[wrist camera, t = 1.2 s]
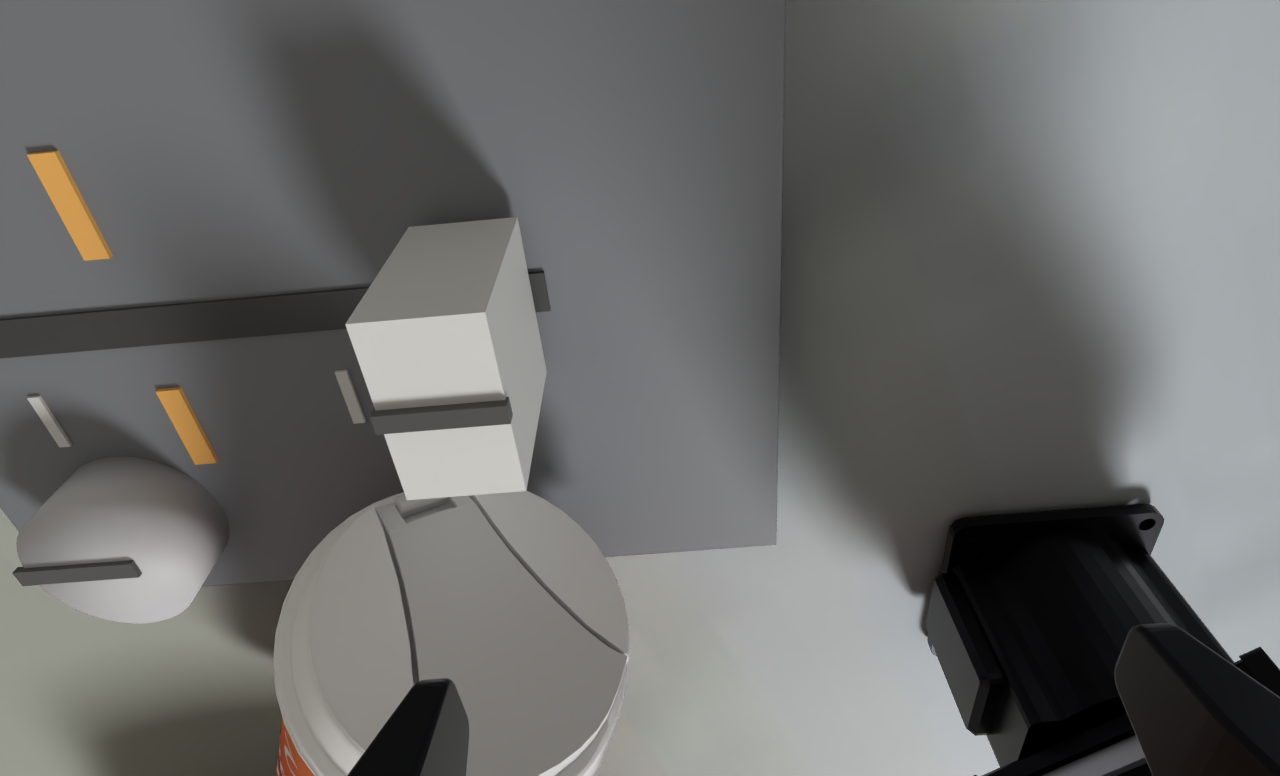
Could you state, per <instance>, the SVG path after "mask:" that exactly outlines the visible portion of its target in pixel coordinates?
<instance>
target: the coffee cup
mask: <svg viewBox="0 0 1280 776" xmlns="http://www.w3.org/2000/svg"><path fill="white" fill-rule="evenodd" d="M629 650H630V642H629V624H628V619H627V614H626V609H625V604H624V599H623V597H622V594H621V591H620V588H619V585H618V582H617V579H616V577H615V575H614V573H613V571H612V569H611V567H610V566H609V564H608V562H607V560H606V558H605V557H604V555H603V554H602V552H601V551H600V549H599V548H598V547H597V545H596V544H595V542H594V541H593V540H592V539H591V538H590V536H589V535H588V534H587V533H586V532H585V531H584V530H583V529H582V528H581V526H580V525H578V524H577V523H576V522H575V521H574V520H573V519H571V518H570V517H569V516H568V515H567V514H566V513H564V512H563V511H562V510H560V509H559V508H557V507H556V506H554V505H553V504H551V503H550V502H548V501H547V500H545V499H543V498H541V497H539V496H537V495H535V494H533V493H531V492H529V491H521V492H508V493H495V494H482V495H469V496H456V497H443V498H430V499H417V500H407V499H406V496H405V493H399V494H396V495H393V496H391V497H388V498H386V499H383V500H380V501H378V502H375V503H373V504H371V505H369V506H367V507H366V508H364V509H362V510H360V511H359V512H357V513H355V514H353V515H352V516H350V517H349V518H347V519H346V520H345V521H344V522H342V523H341V524H340V525H339V526H337V527H336V528H335V529H334V530H332V531H331V532H330V533H329V534H328V535H327V536H326V537H325V538H324V539H323V540H322V541H321V542H320V543H319V545H318V546H317V547H316V548H315V549H314V550H313V551H312V552H311V553H310V555H309V556H308V558H307V559H306V561H305V562H304V564H303V565H302V567H301V568H300V570H299V571H298V573H297V574H296V576H295V578H294V580H293V582H292V584H291V587H290V589H289V591H288V593H287V595H286V598H285V600H284V602H283V606H282V610H281V613H280V617H279V621H278V625H277V629H276V633H275V645H274V656H273V668H274V679H275V691H276V696H277V700H278V703H279V707H280V711H281V714H282V722H281V731H280V739H279V748H278V757H277V767H276V776H347V775H348V774H349V772H350V771H351V770H352V768H353V767H354V766H355V764H356V763H357V761H358V760H359V759H360V757H361V756H362V755H363V753H364V752H365V751H366V749H367V748H368V746H369V745H370V744H371V742H372V741H373V740H374V738H375V737H376V736H377V734H378V733H379V731H380V730H381V729H382V727H383V726H384V725H385V723H386V722H387V721H388V719H389V718H390V717H391V715H392V714H393V712H394V711H395V710H396V708H397V707H398V706H399V704H400V703H401V702H402V700H403V699H404V697H405V696H406V695H407V693H408V692H409V691H410V689H411V688H412V687H413V686H414V685H415V684H416V683H417V682H419V681H421V680H427V679H440V678H449V679H451V680H452V681H453V682H454V684H455V686H456V689H457V691H458V694H459V696H460V699H461V701H462V704H463V706H464V709H465V711H466V714H467V716H468V721H469V746H468V757H467V769H466V776H596V775H597V772H598V770H599V767H600V765H601V762H602V759H603V757H604V754H605V751H606V749H607V746H608V744H609V741H610V739H611V737H612V734H613V732H614V729H615V727H616V725H617V722H618V720H619V716H620V712H621V708H622V704H623V700H624V696H625V688H626V678H627V663H628V660H629Z"/></svg>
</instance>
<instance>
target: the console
mask: <svg viewBox="0 0 1280 776" xmlns="http://www.w3.org/2000/svg"><path fill="white" fill-rule="evenodd" d="M784 55H785V0H0V508H1V509H2V510H3V512H4V513H5V514H6V515H7V517H8V518H9V519H10V521H11V522H12V523H13V525H14V526H15V527H16V529H17V530H18V531H19V534H18V537H17V553H18V556H19V559H20V561H21V563H22V565H23V567H17V568H16V570H15V571H14V572H13V575H14V576H15V577H16V578H17V580H18V581H19V582H20V583H21V584H22V586H30V585H39V586H40V587H41V588H42V589H43V590H45V591H46V592H47V593H49V594H50V595H51V596H53V597H54V598H56V599H57V600H59V601H61V602H62V603H64V604H66V605H68V606H70V607H72V608H74V609H76V610H79V611H81V612H84V613H86V614H89V615H92V616H95V617H99V618H102V619H106V620H111V621H116V622H124V623H151V622H158V621H162V620H166V619H169V618H172V617H174V616H176V615H178V614H180V613H181V612H183V611H184V610H185V609H186V608H187V607H188V606H189V605H190V604H191V602H192V601H193V599H194V598H195V596H196V594H197V593H198V591H199V589H200V588H201V587H203V586H216V585H230V584H244V583H258V582H271V581H285V580H294V578H295V576H296V574H297V573H298V571H299V570H300V568H301V567H302V565H303V564H304V562H305V561H306V559H307V558H308V556H309V555H310V553H311V552H312V551H313V550H314V549H315V548H316V547H317V546H318V545H319V543H320V542H321V541H322V540H323V539H324V538H325V537H326V536H327V535H328V534H329V533H330V532H331V531H332V530H334V529H335V528H336V527H337V526H339V525H340V524H341V523H342V522H344V521H345V520H346V519H347V518H349V517H350V516H352V515H353V514H355V513H357V512H359V511H360V510H362V509H364V508H366V507H367V506H369V505H371V504H373V503H375V502H378V501H380V500H383V499H386V498H388V497H391V496H393V495H396V494H399V493H404V490H403V487H402V485H401V482H400V479H399V476H398V473H397V470H396V468H395V465H394V462H393V459H392V456H391V453H390V451H389V448H388V445H387V442H386V439H385V436H384V434H380V435H376V434H375V431H374V428H373V425H372V422H371V420H370V415H371V413H372V411H373V409H374V405H373V402H372V399H371V396H370V394H369V391H368V388H367V385H366V382H365V379H364V377H363V374H362V371H361V368H360V365H359V362H358V360H357V357H356V354H355V351H354V348H353V345H352V342H351V340H350V337H349V334H348V331H347V328H346V325H345V324H346V322H347V321H348V319H349V318H350V316H351V315H352V313H353V312H354V310H355V308H356V307H357V305H358V304H359V302H360V301H361V299H362V298H363V296H364V295H365V293H366V292H367V290H368V289H369V287H370V285H371V284H372V282H373V281H374V279H375V278H376V276H377V275H378V273H379V272H380V270H381V269H382V267H383V266H384V264H385V263H386V261H387V259H388V258H389V256H390V255H391V253H392V252H393V250H394V249H395V247H396V246H397V244H398V243H399V241H400V240H401V238H402V236H403V235H404V233H405V232H406V230H407V229H408V227H413V226H424V225H435V224H446V223H457V222H468V221H479V220H490V219H501V218H512V217H518V222H519V228H520V233H521V238H522V244H523V249H524V254H525V259H526V265H527V270H528V275H529V281H530V286H531V291H532V297H533V302H534V307H535V313H536V318H537V323H538V328H539V334H540V339H541V344H542V350H543V355H544V360H545V366H546V371H547V373H546V379H545V384H544V390H543V396H542V402H541V408H540V414H539V420H538V426H537V432H536V437H535V443H534V449H533V455H532V461H531V467H530V473H529V479H528V485H527V490H526V491H529V492H531V493H533V494H535V495H537V496H539V497H541V498H543V499H545V500H547V501H548V502H550V503H551V504H553V505H554V506H556V507H557V508H559V509H560V510H562V511H563V512H564V513H566V514H567V515H568V516H569V517H570V518H571V519H573V520H574V521H575V522H576V523H577V524H578V525H580V526H581V528H582V529H583V530H584V531H585V532H586V533H587V534H588V535H589V536H590V538H591V539H592V540H593V541H594V542H595V544H596V545H597V547H598V548H599V549H600V551H601V552H602V554H603V555H604V557H614V556H628V555H641V554H655V553H669V552H682V551H696V550H710V549H723V548H737V547H751V546H765V545H776V531H777V472H778V412H779V353H780V293H781V234H782V174H783V115H784Z"/></svg>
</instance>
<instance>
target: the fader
mask: <svg viewBox="0 0 1280 776" xmlns="http://www.w3.org/2000/svg"><path fill="white" fill-rule="evenodd" d="M345 325H346V328H347V331H348V334H349V337H350V340H351V342H352V345H353V348H354V351H355V354H356V357H357V360H358V362H359V365H360V368H361V371H362V374H363V377H364V379H365V382H366V385H367V388H368V391H369V394H370V396H371V399H372V402H373V405H374V409H373V411H372V413H371V415H370V420H371V422H372V425H373V428H374V431H375V434H376V435H380V434H384V436H385V439H386V442H387V445H388V448H389V451H390V453H391V456H392V459H393V462H394V465H395V468H396V470H397V473H398V476H399V479H400V482H401V485H402V487H403V490H404V493H405V496H406V499H407V500H417V499H430V498H443V497H456V496H469V495H482V494H495V493H508V492H521V491H526V490H527V485H528V479H529V473H530V467H531V461H532V455H533V449H534V443H535V437H536V432H537V426H538V420H539V414H540V408H541V402H542V396H543V390H544V384H545V379H546V373H547V371H546V366H545V360H544V355H543V350H542V344H541V339H540V334H539V328H538V323H537V318H536V313H535V307H534V302H533V297H532V291H531V286H530V281H529V275H528V270H527V265H526V259H525V254H524V249H523V244H522V238H521V233H520V228H519V222H518V217H512V218H501V219H490V220H479V221H468V222H457V223H446V224H435V225H424V226H413V227H408V229H407V230H406V232H405V233H404V235H403V236H402V238H401V240H400V241H399V243H398V244H397V246H396V247H395V249H394V250H393V252H392V253H391V255H390V256H389V258H388V259H387V261H386V263H385V264H384V266H383V267H382V269H381V270H380V272H379V273H378V275H377V276H376V278H375V279H374V281H373V282H372V284H371V285H370V287H369V289H368V290H367V292H366V293H365V295H364V296H363V298H362V299H361V301H360V302H359V304H358V305H357V307H356V308H355V310H354V312H353V313H352V315H351V316H350V318H349V319H348V321H347V322H346V324H345Z"/></svg>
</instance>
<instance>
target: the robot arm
mask: <svg viewBox="0 0 1280 776" xmlns="http://www.w3.org/2000/svg"><path fill="white" fill-rule="evenodd" d="M1163 523H1164V518H1163V516H1162V515H1161V514H1160V513H1159V511H1158V510H1157V509H1156V508H1155V507H1154V506H1152V505H1150V504H1139V505H1125V506H1112V507H1098V508H1084V509H1071V510H1057V511H1044V512H1030V513H1017V514H1003V515H989V516H976V517H965V518H961V519H959V520H957V521H955V522H954V523H953V524H952V525H951V526H950V528H949V531H948V536H947V542H946V547H945V552H944V557H943V562H942V567H941V573H938V575H937V576H936V578H935V579H934V581H933V587H932V592H931V597H930V603H929V608H928V613H927V619H926V624H925V626H926V630H927V632H928V644H929V647H930V649H931V652H932V653H933V654H934V655H936V656H937V657H938V660H939V662H940V664H941V667H942V669H943V672H944V674H945V677H946V679H947V682H948V684H949V687H950V689H951V692H952V694H953V697H954V699H955V702H956V704H957V707H958V709H959V712H960V714H961V717H962V719H963V722H964V724H965V726H966V728H967V729H968V730H969V731H970V732H971V733H973V734H974V735H975V736H976V735H987V738H988V740H989V742H990V745H991V747H992V749H993V752H994V754H995V756H996V759H997V761H998V764H999V766H1000V768H998V769H996V770H994V771H992V772H989V773H987V774H985V775H983V776H1280V669H1279V668H1278V667H1277V666H1276V665H1275V663H1274V662H1273V661H1272V660H1271V659H1270V658H1269V656H1268V655H1267V654H1266V653H1265V652H1264V650H1263V649H1262V648H1261V647H1258V648H1256V649H1254V650H1251V651H1249V652H1247V653H1245V654H1243V655H1240V656H1239V657H1240V658H1241V660H1239V661H1237V662H1235V663H1234V661H1233V660H1232V659H1231V657H1230V656H1229V655H1228V654H1227V652H1226V651H1225V650H1224V648H1223V647H1222V646H1221V645H1220V643H1219V642H1218V641H1217V640H1216V638H1215V637H1214V636H1213V634H1212V633H1211V632H1210V631H1209V629H1208V628H1207V627H1206V626H1205V624H1204V623H1203V622H1202V620H1201V619H1200V618H1199V617H1198V615H1197V614H1196V613H1195V612H1194V610H1193V609H1192V608H1191V606H1190V605H1189V604H1188V603H1187V601H1186V600H1185V599H1184V598H1183V596H1182V595H1181V594H1180V592H1179V591H1178V590H1177V589H1176V587H1175V586H1174V585H1173V584H1172V582H1171V581H1170V580H1169V578H1168V577H1167V576H1166V575H1165V573H1164V572H1163V571H1162V570H1161V568H1160V567H1159V566H1158V564H1157V563H1156V562H1155V561H1154V559H1153V558H1152V557H1151V556H1150V555H1151V552H1152V550H1153V548H1154V545H1155V543H1156V540H1157V538H1158V535H1159V533H1160V531H1161V528H1162V526H1163ZM967 532H969V533H967ZM965 533H967V534H965ZM468 746H469V721H468V716H467V714H466V711H465V709H464V706H463V704H462V701H461V699H460V696H459V694H458V691H457V689H456V686H455V684H454V682H453V681H452V680H451V679H449V678H440V679H427V680H421V681H419V682H417V683H416V684H415V685H414V686H413V687H412V688H411V689H410V691H409V692H408V693H407V695H406V696H405V697H404V699H403V700H402V702H401V703H400V704H399V706H398V707H397V708H396V710H395V711H394V712H393V714H392V715H391V717H390V718H389V719H388V721H387V722H386V723H385V725H384V726H383V727H382V729H381V730H380V731H379V733H378V734H377V736H376V737H375V738H374V740H373V741H372V742H371V744H370V745H369V746H368V748H367V749H366V751H365V752H364V753H363V755H362V756H361V757H360V759H359V760H358V761H357V763H356V764H355V766H354V767H353V768H352V770H351V771H350V772H349V774H348V775H347V776H466V769H467V757H468ZM974 776H977V775H974Z"/></svg>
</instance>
